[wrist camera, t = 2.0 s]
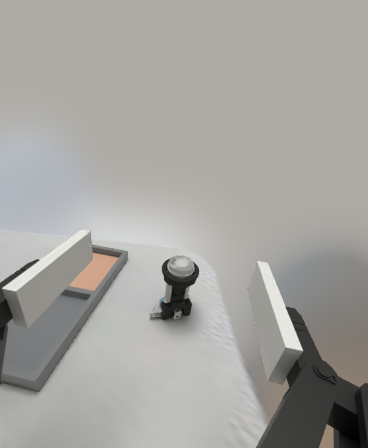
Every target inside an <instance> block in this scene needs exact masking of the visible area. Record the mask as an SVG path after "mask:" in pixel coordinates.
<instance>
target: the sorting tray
mask: <svg viewBox="0 0 368 448" xmlns="http://www.w3.org/2000/svg"><path fill="white" fill-rule="evenodd" d="M92 253H93V260H92V261H91V262H90V263H89V265H88V266H87V267H86V268H85V269H84V270H83V271H82V272H81V273H80V274H79V275H78V276H77V277H76V278H75V279H74V280H73V281H72V283H71V284H70V285H69V286H68V287H67V288H66V289H65V290H64V291H63V292H62V293H61V294H60V295H59V296H58V297H57V298H56V299H55V300H54V302H53V303H52V304H51V305H50V306H49V307H48V308H47V309H46V310H45V311H44V312H43V313H42V314H41V315H40V316H39V317H38V318H37V320H36V321H35V322H34V323H33V324H32V325H31V326H30V327H29V328H24V327H19V326H15V323H14V321H13V319H11V320H10V321H9V322H8V323H7V325H8V333H7V340H6V347H5V354H4V361H3V368H2V375H1V382H3V383H7V384H11V385H15V386H19V387H23V388H27V389H31V390H35V391H40V389H41V388H42V386H43V385H44V383H45V382H46V380H47V379H48V377H49V376H50V374H51V373H52V371H53V370H54V368H55V367H56V365H57V364H58V362H59V361H60V359H61V358H62V356H63V355H64V353H65V352H66V350H67V349H68V347H69V346H70V344H71V343H72V341H73V340H74V338H75V337H76V335H77V334H78V332H79V331H80V329H81V328H82V326H83V325H84V324H85V322H86V321H87V319H88V318H89V316H90V315H91V313H92V312H93V310H94V309H95V307H96V306H97V304H98V303H99V301H100V300H101V298H102V297H103V295H104V294H105V292H106V291H107V289H108V288H109V286H110V285H111V283H112V282H113V280H114V279H115V277H116V276H117V274H118V273H119V271H120V270H121V268H122V267H123V265H124V264H125V262H126V261H127V259H128V251H123V250H118V249H112V248H107V247H102V246H97V245H92Z"/></svg>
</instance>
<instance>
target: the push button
mask: <svg viewBox="0 0 368 448" xmlns="http://www.w3.org/2000/svg"><path fill="white" fill-rule="evenodd" d="M167 271H168V272H167ZM162 273H163V275H164V281H165V282H166V283H167V284H166V292H165V297H164V298H163V299H161V300H160V305H159V307H157V308H154V309H150V312H151V313H150V317H151V318H153V317H157V316H158V317H162V319H167V318H171V317H174V319H179V318H180V317H181V315H182V314H184V315H185V316H187V315H189V314H190V312H191V307H192V303H191V301H190V299H189V295H188V292H189V287H190V286H191V285H193V284H194V283H195V281H196V279H197V277H198V275H199V268H198V266H197V265H196V264H195V263H194V262H193V261H192V260H191V259H190V258H188V257H185V256H174V257H172V258H170V259H168V260H166V261H165V262H164V263H163V266H162ZM192 275H193V276H192ZM153 310H155V312H153ZM152 314H155V316H152ZM176 316H178V317H176Z"/></svg>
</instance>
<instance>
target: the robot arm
mask: <svg viewBox="0 0 368 448" xmlns="http://www.w3.org/2000/svg"><path fill="white" fill-rule="evenodd" d="M92 260H93V253H92V242H91V232H90V231H86V230H80V231H79V232H78V233H76V234H75V235H74V236H72V237H71V238H69V239H68V240H67V241H65V242H64V243H63V244H61V245H60V246H59V247H57V248H56V249H55V250H53V251H52V252H50V253H49V254H48V255H46V256H45V257H44V258H42V259H41V260H38V259H37V260H35V261H32V262H30V263H28V264H26V265H25V266H23V267H22V268H21V269H20V270H18V271H16V272H15V273H14V274H12V275H11V276H9V277H8V278H7V279H5V280H4V281H2V282H1V283H0V383H1V375H2V368H3V361H4V354H5V347H6V340H7V333H8V325H7V323H8V322H9V321H10V320H11V319H13V321H14V323H15V326H19V327H24V328H29V327H30V326H31V325H32V324H33V323H34V322H35V321H36V320H37V318H38V317H39V316H40V315H41V314H42V313H43V312H44V311H45V310H46V309H47V308H48V307H49V306H50V305H51V304H52V303H53V302H54V300H55V299H56V298H57V297H58V296H59V295H60V294H61V293H62V292H63V291H64V290H65V289H66V288H67V287H68V286H69V285H70V284H71V283H72V281H73V280H74V279H75V278H76V277H77V276H78V275H79V274H80V273H81V272H82V271H83V270H84V269H85V268H86V267H87V266H88V265H89V263H90V262H91V261H92ZM248 292H249V297H250V302H251V306H252V311H253V316H254V321H255V325H256V330H257V335H258V340H259V345H260V349H261V354H262V359H263V364H264V368H265V372H266V378H267V381H268V382H273V383H277V384H283V383H284V382H285V380H286V378H287V381H288V384H289V389H288V390H287V392H286V393H285V395H284V397H283V399H282V401H281V403H280V405H279V407H278V409H277V410H276V412H275V414H274V416H273V418H272V419H271V421H270V423H269V425H268V427H267V428H266V430H265V432H264V434H263V436H262V438H261V439H260V441H259V443H258V445H257V447H256V448H319V445H320V443H321V439H322V436H323V434H324V430H325V428H326V424H328V425H330V426H331V427H333V428H334V448H368V383H365V384H363V385H362V386H361V387H360V388H359V387H358V386H355V385H354V384H352V383H350V382H348V381H346V380H344V379H342V378H340V377H338V376H337V374H336V372H335V371H334V370H333V368H332V367H331V366H329V364H327V363H326V362H325V361H323V360H322V359H321V357H320V355H319V352H318V350H317V349H316V346H315V344H314V342H313V340H312V338H311V336H310V333H308V329H307V327H306V326H305V323H304V321H303V319H302V316H301V315H300V314H299V313H298V312H297V311H296V310H295V308H289V307H285V305H284V302H283V300H282V298H281V295H280V293H279V290H278V287H277V285H276V282H275V280H274V278H273V275H272V272H271V270H270V267H269V265H268V263H266V262H260V261H257V263H256V266H255V269H254V272H253V275H252V278H251V281H250V284H249V287H248Z"/></svg>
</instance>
